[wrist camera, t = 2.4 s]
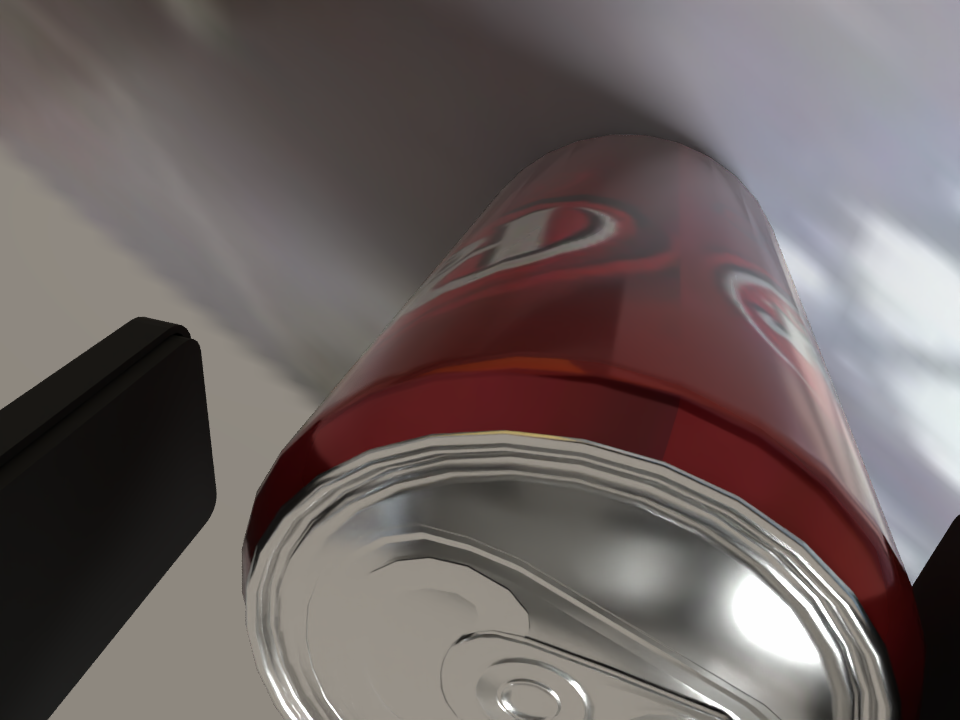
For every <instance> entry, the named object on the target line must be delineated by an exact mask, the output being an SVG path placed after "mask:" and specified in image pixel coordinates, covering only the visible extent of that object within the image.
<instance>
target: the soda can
mask: <svg viewBox="0 0 960 720" xmlns="http://www.w3.org/2000/svg"><path fill="white" fill-rule="evenodd" d="M242 594H243V598H244V601H245V605H246V627H247V632H248V636H249V640H250V644H251V648H252V652H253V656H254V660H255V664H256V668H257V671H258V673H259V675H260V677H261V679H262V681H263V683H264V685H265V687H266V689H267V691H268V693H269V695H270V697H271V699H272V701H273V703H274V705H275V707H276V709H277V710H278V712H279V713H280V714H281V716H282V717H283V719H284V720H919V718H920V713H921V707H922V700H923V688H924V673H925V659H926V642H925V638H924V634H923V630H922V625H921V621H920V617H919V613H918V609H917V605H916V601H915V597H914V593H913V589H912V586H911V583H910V581H909V578H908V576H907V573H906V570H905V568H904V565H903V563H902V560H901V558H900V555H899V552H898V550H897V547H896V545H895V542H894V540H893V537H892V535H891V532H890V529H889V527H888V524H887V522H886V519H885V517H884V514H883V511H882V509H881V506H880V504H879V501H878V499H877V496H876V493H875V491H874V488H873V486H872V483H871V481H870V478H869V475H868V473H867V470H866V468H865V465H864V463H863V460H862V457H861V455H860V452H859V450H858V447H857V445H856V442H855V439H854V437H853V434H852V432H851V429H850V427H849V424H848V421H847V419H846V416H845V414H844V411H843V409H842V406H841V403H840V401H839V398H838V396H837V393H836V391H835V388H834V385H833V383H832V380H831V378H830V375H829V373H828V370H827V367H826V365H825V362H824V360H823V357H822V355H821V352H820V349H819V347H818V344H817V342H816V339H815V337H814V334H813V331H812V329H811V326H810V324H809V321H808V319H807V316H806V313H805V311H804V308H803V306H802V303H801V301H800V298H799V295H798V293H797V290H796V288H795V285H794V283H793V280H792V277H791V275H790V272H789V270H788V267H787V265H786V262H785V259H784V257H783V254H782V252H781V249H780V247H779V244H778V241H777V239H776V236H775V234H774V231H773V229H772V227H771V225H770V223H769V221H768V219H767V217H766V216H765V214H764V212H763V210H762V208H761V206H760V204H759V203H758V201H757V200H756V198H755V197H754V196H753V195H752V194H751V193H750V192H749V190H748V189H747V188H746V187H745V186H744V185H743V184H742V182H741V181H740V180H739V179H738V178H737V177H736V176H735V175H734V174H732V173H731V172H730V171H728V170H727V169H726V168H724V167H723V166H722V165H720V164H719V163H717V162H716V161H715V160H713V159H712V158H711V157H709V156H707V155H705V154H703V153H701V152H698V151H696V150H694V149H692V148H690V147H687V146H685V145H683V144H681V143H678V142H674V141H670V140H665V139H661V138H656V137H652V136H647V135H615V134H612V135H606V136H601V137H595V138H590V139H584V140H579V141H576V142H574V143H571V144H569V145H566V146H564V147H561V148H559V149H556V150H554V151H551V152H549V153H547V154H546V155H544V156H543V157H541V158H540V159H538V160H537V161H535V162H533V163H532V164H530V165H529V166H527V167H526V168H524V169H523V170H522V171H521V172H520V173H519V174H518V175H517V176H516V177H515V178H514V179H513V180H512V181H511V182H510V183H509V184H507V185H506V186H505V187H504V188H503V189H502V190H501V192H500V193H499V194H498V195H497V196H496V197H495V199H494V200H493V201H492V202H491V203H490V205H489V206H488V207H487V208H486V209H485V210H484V212H483V213H482V214H481V215H480V216H479V218H478V219H477V220H476V221H475V222H474V224H473V225H472V226H471V227H470V228H469V229H468V231H467V232H466V233H465V234H464V235H463V237H462V238H461V239H460V240H459V241H458V242H457V244H456V245H455V246H454V247H453V248H452V250H451V251H450V252H449V253H448V254H447V256H446V257H445V258H444V259H443V260H442V261H441V263H440V264H439V265H438V266H437V267H436V269H435V270H434V271H433V272H432V273H431V274H430V276H429V277H428V278H427V279H426V280H425V282H424V283H423V284H422V285H421V286H420V287H419V289H418V290H417V291H416V292H415V293H414V295H413V296H412V297H411V298H410V299H409V301H408V302H407V303H406V304H405V305H404V306H403V308H402V309H401V310H400V311H399V312H398V314H397V315H396V316H395V317H394V318H393V319H392V321H391V322H390V323H389V324H388V325H387V327H386V328H385V329H384V330H383V331H382V333H381V334H380V335H379V336H378V337H377V338H376V340H375V341H374V342H373V343H372V344H371V346H370V347H369V348H368V349H367V350H366V351H365V353H364V354H363V355H362V356H361V357H360V359H359V360H358V361H357V362H356V363H355V365H354V366H353V367H352V368H351V369H350V370H349V372H348V373H347V374H346V375H345V376H344V378H343V379H342V380H341V381H340V382H339V383H338V385H337V386H336V387H335V388H334V389H333V391H332V392H331V393H330V394H329V395H328V396H327V398H326V399H325V400H324V401H323V402H322V404H321V405H320V406H319V407H318V408H317V410H316V411H315V412H314V413H313V414H312V416H311V417H310V418H309V419H308V420H307V421H306V423H305V424H304V425H303V426H302V427H301V428H300V430H299V431H298V432H297V434H295V436H294V437H293V438H292V439H291V440H290V442H289V443H288V444H287V445H286V446H285V448H284V449H283V450H282V451H281V453H280V454H279V456H278V458H277V460H276V461H275V463H274V464H273V466H272V468H271V469H270V471H269V472H268V474H267V476H266V477H265V479H264V481H263V482H262V484H261V486H260V487H259V489H258V491H257V493H256V497H255V501H254V504H253V508H252V512H251V515H250V519H249V523H248V526H247V530H246V534H245V538H244V543H243V547H242Z"/></svg>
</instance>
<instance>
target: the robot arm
mask: <svg viewBox="0 0 960 720" xmlns="http://www.w3.org/2000/svg"><path fill="white" fill-rule="evenodd" d="M215 503H216V484H215V474H214V465H213V458H212V447H211V439H210V429H209V420H208V412H207V403H206V393H205V384H204V375H203V365H202V356H201V349H200V345H199V344H198V342H197V341H196V340H194V339H191V336H190V333H189V332H188V330H187V329H186V328H185V327H184V326H182V325H178V324H173V323H169V322H165V321H160V320H156V319H151V318H147V317H137V318H135V319H133V320H131V321H129V322H128V323H126V324H125V325H123V326H122V327H121V328H119V329H118V330H116V331H115V332H113V333H112V334H111V335H109V336H107V337H106V338H105V339H103V340H102V341H100V342H99V343H97V344H96V345H94V346H93V347H91V348H90V349H89V350H87V351H86V352H84V353H83V354H81V355H80V356H78V357H77V358H76V359H74V360H73V361H71V362H70V363H68V364H67V365H65V366H64V367H62V368H61V369H59V370H58V371H57V372H55V373H54V374H52V375H51V376H49V377H48V378H46V379H45V380H43V381H42V382H40V383H39V384H38V385H36V386H35V387H33V388H32V389H30V390H29V391H28V392H26V393H24V394H23V395H22V396H20V397H19V398H17V399H16V400H14V401H13V402H11V403H10V404H8V405H7V406H6V407H4V408H3V409H1V410H0V720H48V718H49V717H50V716H51V715H52V714H53V712H54V711H55V710H56V709H57V707H58V706H59V705H60V704H61V702H62V701H63V700H64V699H65V697H66V696H67V695H68V693H69V692H70V691H71V690H72V688H73V687H74V686H75V685H76V684H77V683H78V681H79V680H80V679H81V678H82V676H83V675H84V674H85V672H86V671H87V670H88V669H89V668H90V666H91V665H92V663H94V661H95V660H96V659H97V658H98V656H99V655H100V654H101V653H102V651H103V650H104V649H105V648H106V646H107V645H108V644H109V643H110V641H111V640H112V639H113V638H114V637H115V635H116V634H117V633H118V632H119V630H120V629H121V628H122V627H123V625H124V624H125V623H126V622H127V620H128V619H129V618H130V617H131V615H132V614H133V613H134V612H135V610H136V609H137V608H138V607H139V606H140V604H141V603H142V602H143V601H144V599H145V598H146V597H147V596H148V594H149V593H150V592H151V591H152V589H153V588H154V587H155V586H156V584H157V583H158V582H159V581H160V580H161V578H162V577H163V576H164V574H165V573H166V572H167V571H168V570H169V568H170V567H171V566H172V565H173V563H174V562H175V561H176V560H177V558H178V557H179V556H180V555H181V553H182V552H183V551H184V549H185V548H186V547H187V546H188V545H189V543H190V542H191V541H192V540H193V539H194V537H195V536H196V535H197V534H198V532H199V531H200V530H201V529H202V527H203V526H204V525H205V524H206V522H207V521H208V519H209V518H210V516H211V514H212V512H213V510H214V507H215ZM912 589H913V593H914V597H915V601H916V605H917V609H918V613H919V617H920V621H921V625H922V630H923V634H924V638H925V642H926V659H925V673H924V688H923V700H922V707H921V713H920V718H919V720H960V515H958V516H957V517H956V518H955V520H954V521H953V522H952V524H951V525H950V527H949V529H948V530H947V532H946V533H945V535H944V537H943V538H942V540H941V541H940V543H939V545H938V546H937V548H936V549H935V551H934V552H933V554H932V556H931V557H930V559H929V560H928V562H927V564H926V565H925V567H924V568H923V570H922V572H921V573H920V575H919V576H918V578H917V579H916V581H915V583H914V584H913V586H912Z"/></svg>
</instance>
